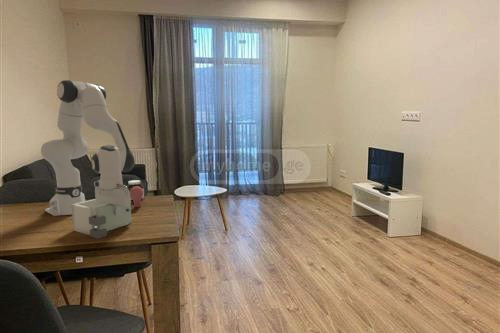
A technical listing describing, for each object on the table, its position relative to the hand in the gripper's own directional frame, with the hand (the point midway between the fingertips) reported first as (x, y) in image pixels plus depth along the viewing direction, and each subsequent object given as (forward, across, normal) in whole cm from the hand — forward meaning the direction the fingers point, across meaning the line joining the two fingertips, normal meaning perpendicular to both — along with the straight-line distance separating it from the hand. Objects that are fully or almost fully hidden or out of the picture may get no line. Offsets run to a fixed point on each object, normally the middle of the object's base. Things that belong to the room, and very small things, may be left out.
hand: (114, 213), depth 152 cm
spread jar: (+8, +39, -40) cm, 57 cm away
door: (+6, 0, 0) cm, 6 cm away
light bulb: (+8, +23, -31) cm, 40 cm away
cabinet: (+8, +7, 0) cm, 10 cm away
